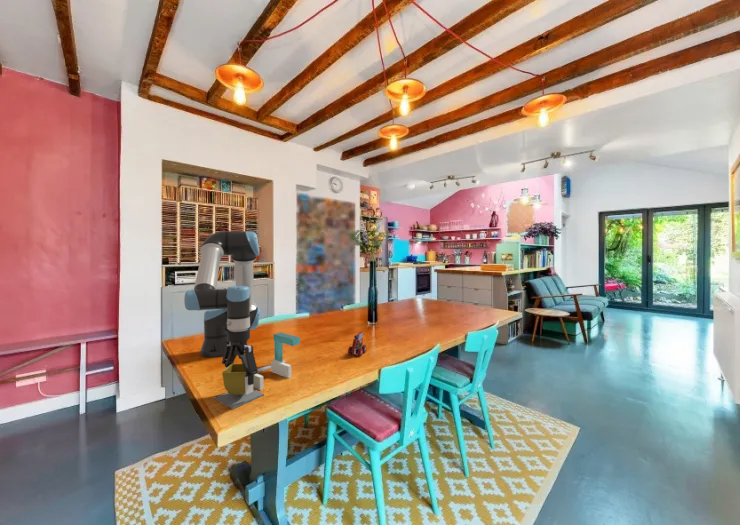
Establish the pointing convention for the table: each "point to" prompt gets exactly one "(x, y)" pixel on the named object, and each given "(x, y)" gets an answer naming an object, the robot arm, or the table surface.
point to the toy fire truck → (357, 345)
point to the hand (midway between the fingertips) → (239, 388)
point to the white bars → (276, 368)
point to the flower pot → (234, 379)
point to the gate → (285, 339)
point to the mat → (238, 398)
